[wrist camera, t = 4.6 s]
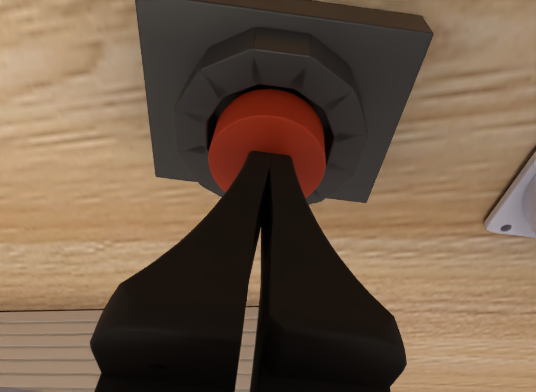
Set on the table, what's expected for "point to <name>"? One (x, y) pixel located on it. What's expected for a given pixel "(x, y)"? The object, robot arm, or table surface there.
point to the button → (268, 136)
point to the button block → (278, 78)
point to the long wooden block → (75, 350)
